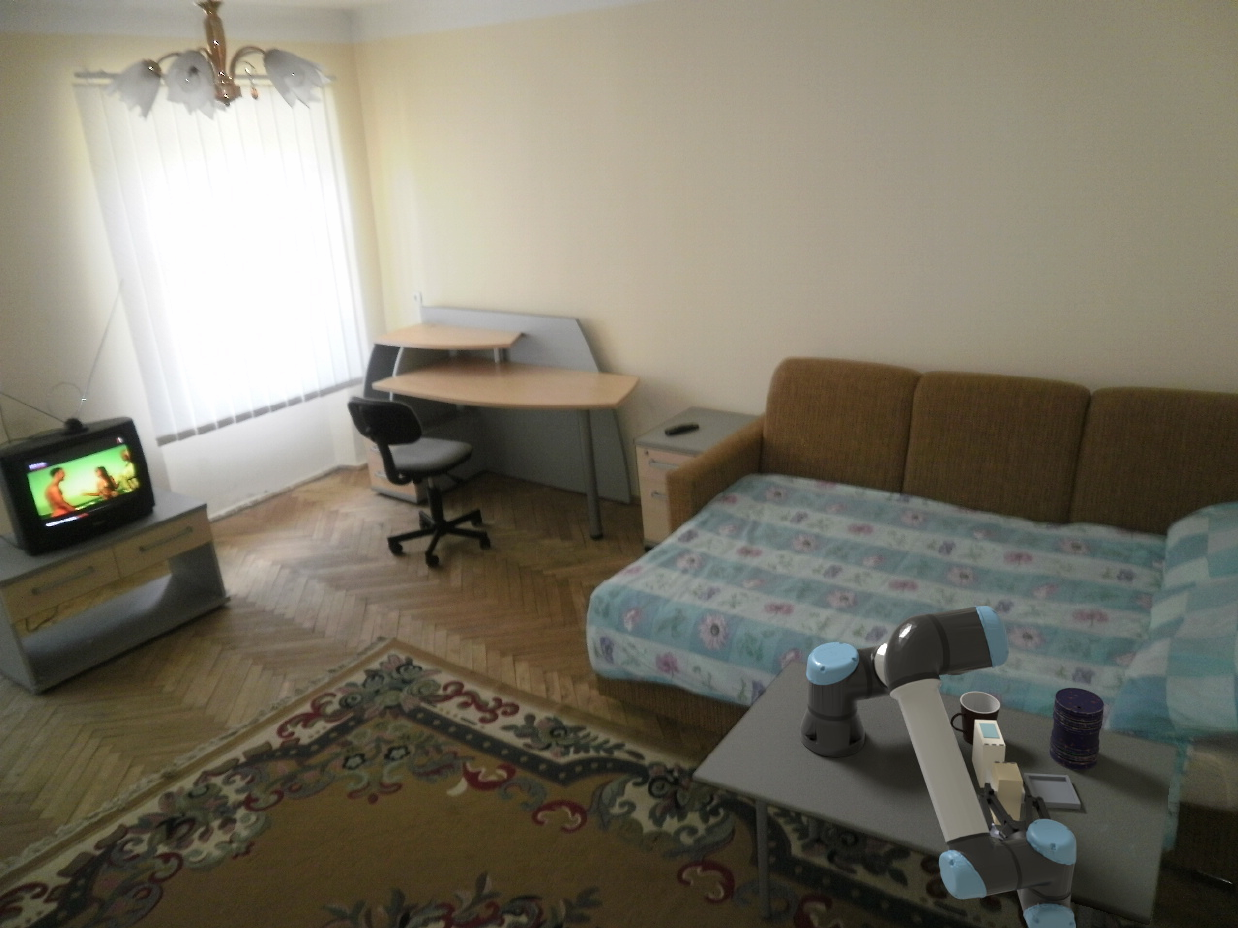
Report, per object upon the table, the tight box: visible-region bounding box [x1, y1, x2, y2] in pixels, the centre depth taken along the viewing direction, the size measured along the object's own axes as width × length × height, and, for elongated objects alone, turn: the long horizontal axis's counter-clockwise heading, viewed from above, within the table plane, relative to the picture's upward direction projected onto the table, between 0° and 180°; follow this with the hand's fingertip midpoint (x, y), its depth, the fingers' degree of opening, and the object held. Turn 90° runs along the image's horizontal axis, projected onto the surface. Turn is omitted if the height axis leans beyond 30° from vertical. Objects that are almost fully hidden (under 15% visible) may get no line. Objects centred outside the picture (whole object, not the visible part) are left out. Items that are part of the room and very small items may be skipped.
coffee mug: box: [949, 691, 1001, 746], centre depth 209 cm, size 12×9×10 cm
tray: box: [1022, 772, 1081, 810], centre depth 191 cm, size 9×9×1 cm
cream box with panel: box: [971, 720, 1006, 788], centre depth 196 cm, size 4×9×11 cm, turn 170°
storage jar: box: [1049, 687, 1105, 772], centre depth 199 cm, size 10×10×15 cm
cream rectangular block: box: [989, 761, 1024, 826], centre depth 181 cm, size 4×6×11 cm
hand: (1001, 775), depth 184 cm, fingers closed on cream rectangular block, 4 cm apart
